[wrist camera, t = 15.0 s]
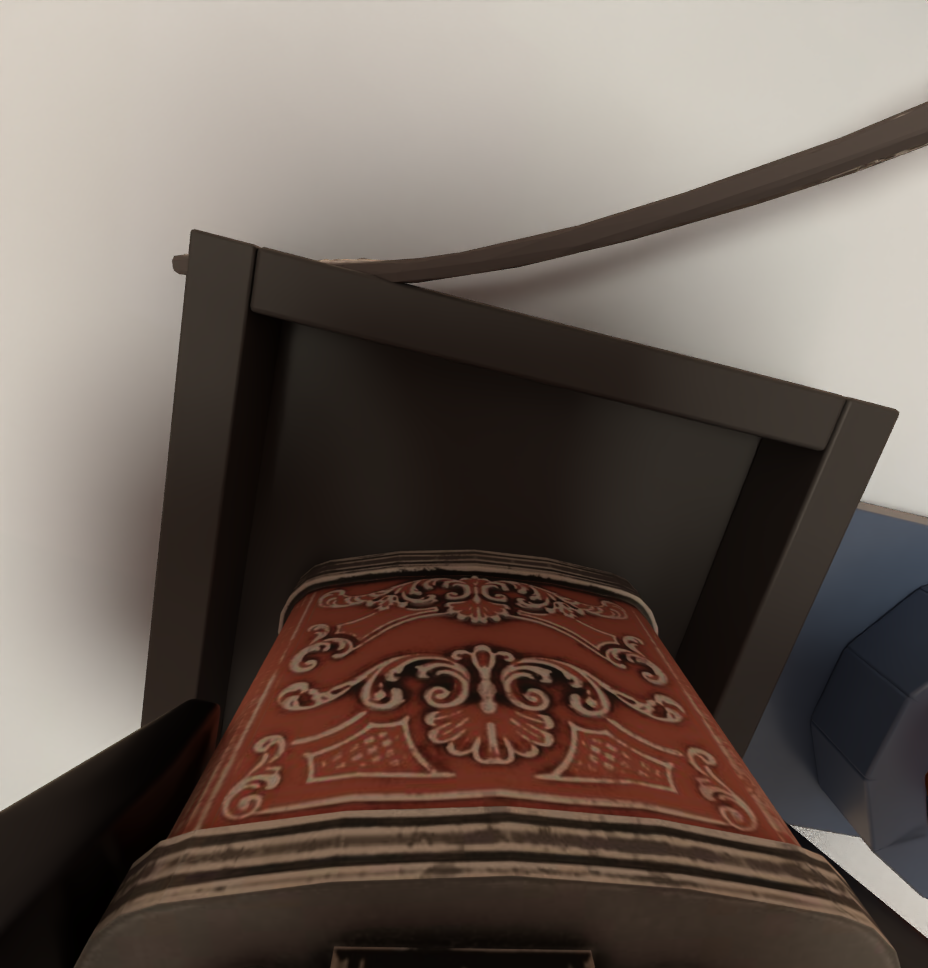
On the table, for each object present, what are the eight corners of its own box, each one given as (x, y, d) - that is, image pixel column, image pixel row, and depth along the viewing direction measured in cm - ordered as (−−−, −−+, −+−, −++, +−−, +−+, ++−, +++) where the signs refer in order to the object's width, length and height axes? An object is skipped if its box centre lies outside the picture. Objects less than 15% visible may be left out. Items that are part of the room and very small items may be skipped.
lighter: (290, 677, 13) (-180, 1730, 3) (287, 541, 12) (-385, 1438, 2) (633, 689, 13) (1135, 1668, 4) (655, 558, 12) (1411, 1399, 3)
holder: (811, 393, 12) (903, 410, 9) (622, 855, 15) (655, 954, 13) (247, 249, 11) (189, 227, 8) (179, 781, 14) (125, 874, 12)
